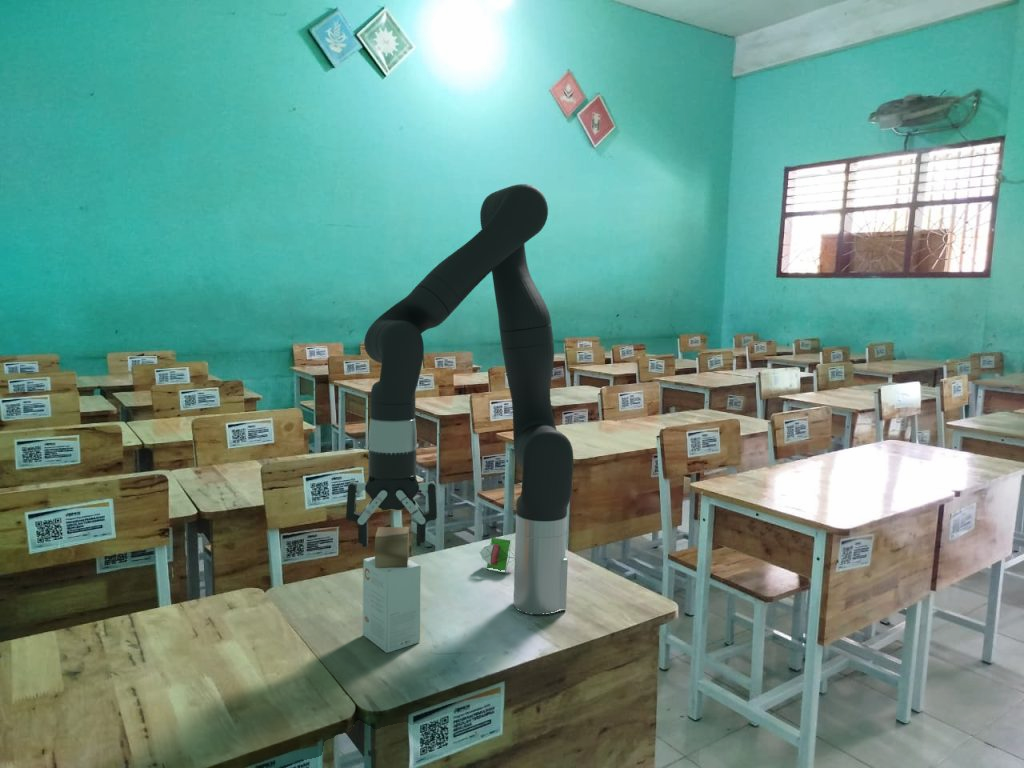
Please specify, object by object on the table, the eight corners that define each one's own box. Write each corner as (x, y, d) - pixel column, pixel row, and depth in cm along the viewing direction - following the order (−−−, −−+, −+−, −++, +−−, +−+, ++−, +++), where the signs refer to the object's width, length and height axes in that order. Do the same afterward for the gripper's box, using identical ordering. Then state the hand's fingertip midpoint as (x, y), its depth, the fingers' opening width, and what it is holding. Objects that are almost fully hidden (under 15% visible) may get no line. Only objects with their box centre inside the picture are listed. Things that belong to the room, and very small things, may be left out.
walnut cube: (408, 556, 117) (408, 527, 116) (407, 567, 112) (407, 536, 111) (378, 556, 116) (378, 527, 116) (374, 567, 111) (375, 536, 111)
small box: (420, 642, 114) (421, 565, 113) (386, 654, 110) (386, 573, 109) (395, 624, 121) (396, 550, 119) (361, 635, 117) (362, 558, 115)
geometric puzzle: (494, 549, 153) (484, 527, 148) (523, 554, 150) (515, 531, 145) (482, 578, 148) (472, 555, 143) (512, 583, 146) (503, 561, 141)
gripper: (437, 442, 117) (436, 537, 118) (350, 441, 115) (349, 538, 117) (437, 451, 109) (436, 553, 111) (343, 450, 108) (343, 554, 109)
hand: (391, 545), depth 114 cm, fingers open, 8 cm apart
